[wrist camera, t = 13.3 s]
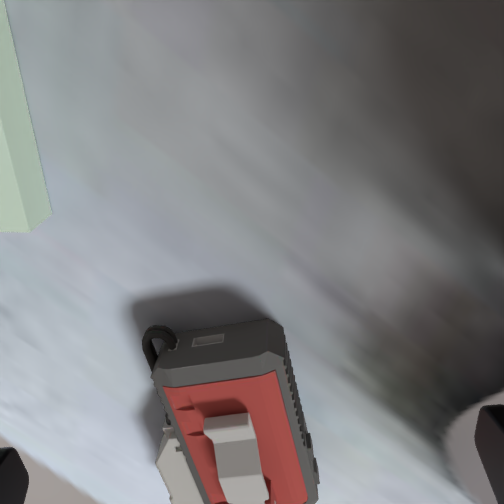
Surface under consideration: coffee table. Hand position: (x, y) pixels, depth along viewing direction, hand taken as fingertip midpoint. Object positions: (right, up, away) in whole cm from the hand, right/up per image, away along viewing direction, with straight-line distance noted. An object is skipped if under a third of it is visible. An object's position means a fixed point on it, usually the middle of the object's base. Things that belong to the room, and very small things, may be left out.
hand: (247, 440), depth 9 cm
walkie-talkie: (-1, -8, +18) cm, 20 cm away
